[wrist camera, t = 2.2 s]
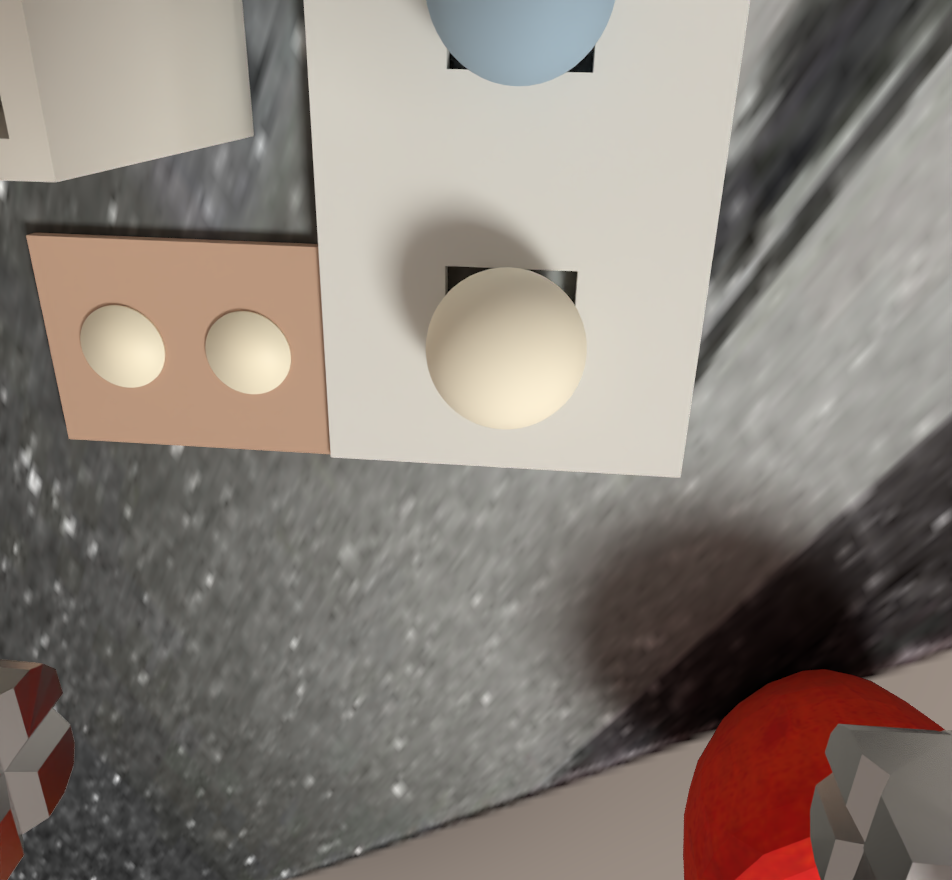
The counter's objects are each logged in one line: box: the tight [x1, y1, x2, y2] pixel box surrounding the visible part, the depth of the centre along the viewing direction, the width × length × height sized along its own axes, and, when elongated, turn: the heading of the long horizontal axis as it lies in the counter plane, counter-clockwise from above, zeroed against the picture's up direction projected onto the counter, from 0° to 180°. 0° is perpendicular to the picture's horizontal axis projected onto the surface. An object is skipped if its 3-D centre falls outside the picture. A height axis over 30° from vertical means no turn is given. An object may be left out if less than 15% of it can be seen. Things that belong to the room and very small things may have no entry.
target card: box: [26, 233, 331, 454], centre depth 23 cm, size 8×6×1 cm
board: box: [304, 0, 750, 478], centre depth 20 cm, size 16×10×1 cm, turn 179°
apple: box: [683, 669, 944, 880], centre depth 23 cm, size 9×9×8 cm
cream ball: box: [426, 267, 587, 429], centre depth 20 cm, size 4×4×4 cm
